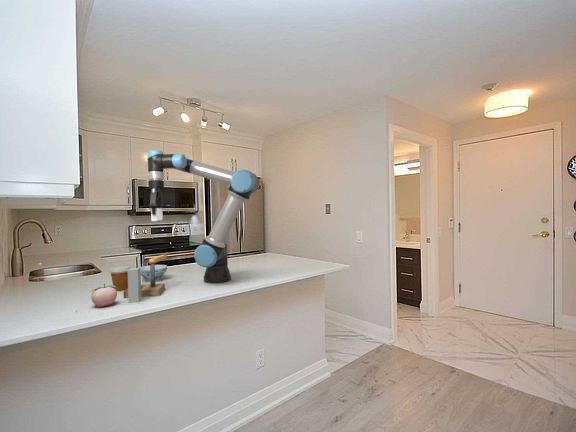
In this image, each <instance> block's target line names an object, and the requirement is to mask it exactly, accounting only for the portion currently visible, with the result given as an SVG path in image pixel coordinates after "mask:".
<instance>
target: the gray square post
mask: <svg viewBox="0 0 576 432" xmlns="http://www.w3.org/2000/svg"><path fill="white" fill-rule="evenodd" d="M141 285H142V276H141V269H140V267H131V268H130V269H128V298H127V299H128V303H135V302H139V301H140V300H141V298H142V297H141Z"/></svg>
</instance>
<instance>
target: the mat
mask: <svg viewBox="0 0 576 432" xmlns="http://www.w3.org/2000/svg"><path fill="white" fill-rule="evenodd" d="M147 300H149V297H141V300H140V301H139V302H135V303H128V298H126V300H124V301H123V302H122V303H121V304H120V306H129V305H130V306H131V305H142V304H143V305H144V303H146V301H147Z"/></svg>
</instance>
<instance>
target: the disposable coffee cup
mask: <svg viewBox="0 0 576 432" xmlns="http://www.w3.org/2000/svg"><path fill="white" fill-rule="evenodd" d="M130 268H132V267H131V265H120V266H114V267H110V270H109V273H110V275H111V276H110V277H111V280H112V281H111V282H112V286H116V287H117V288H115V287H114V288H115V289H116V291H117V292H124V291H125V290H126V289H128V269H130Z"/></svg>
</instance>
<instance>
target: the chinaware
mask: <svg viewBox="0 0 576 432" xmlns="http://www.w3.org/2000/svg"><path fill="white" fill-rule="evenodd" d="M139 268H140V269H141V278H143V279H144V280H146V282H148V283H151V278H150V264H149V265H144V266H140V267H139ZM167 270H168V265H166V264H155V283H156V282H159V281H160V280H161V278H163V277H164V276H165V274H166V272H167Z"/></svg>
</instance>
